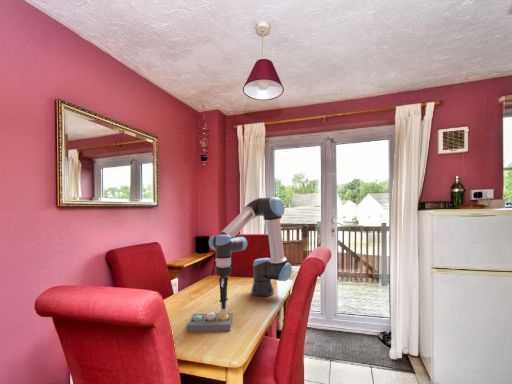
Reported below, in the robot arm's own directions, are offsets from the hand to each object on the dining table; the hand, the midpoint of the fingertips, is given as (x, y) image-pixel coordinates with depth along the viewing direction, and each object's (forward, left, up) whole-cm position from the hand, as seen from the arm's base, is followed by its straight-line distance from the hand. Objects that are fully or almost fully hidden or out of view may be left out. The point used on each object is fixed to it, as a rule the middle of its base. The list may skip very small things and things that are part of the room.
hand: (223, 314), depth 131 cm
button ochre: (0, 0, -3) cm, 3 cm away
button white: (+6, 0, -2) cm, 7 cm away
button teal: (+13, 0, -4) cm, 13 cm away
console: (+6, 0, -5) cm, 8 cm away
